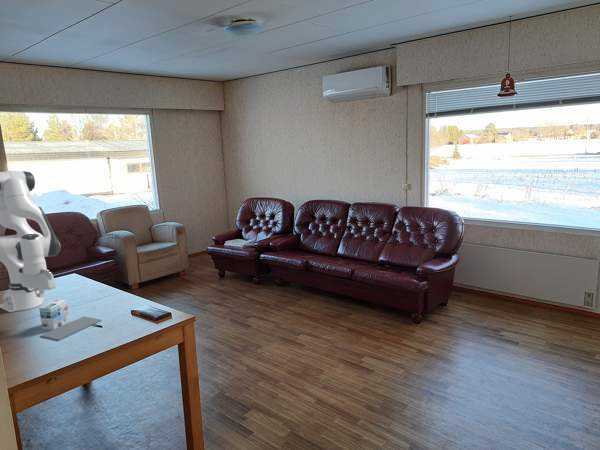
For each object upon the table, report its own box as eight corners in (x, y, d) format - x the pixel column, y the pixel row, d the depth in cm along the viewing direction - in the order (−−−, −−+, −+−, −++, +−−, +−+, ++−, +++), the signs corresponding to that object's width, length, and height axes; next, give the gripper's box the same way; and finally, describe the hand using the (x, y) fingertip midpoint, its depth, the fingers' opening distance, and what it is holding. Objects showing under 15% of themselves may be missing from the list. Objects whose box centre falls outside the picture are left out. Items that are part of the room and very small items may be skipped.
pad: (40, 336, 187) (40, 335, 186) (83, 317, 206) (83, 316, 206) (58, 340, 182) (58, 339, 182) (101, 320, 201) (101, 319, 201)
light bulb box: (54, 330, 192) (50, 308, 190) (41, 330, 194) (38, 307, 192) (71, 321, 203) (68, 299, 201) (59, 320, 204) (55, 299, 202)
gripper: (56, 268, 195) (61, 296, 198) (28, 265, 204) (33, 292, 206) (43, 272, 190) (48, 301, 192) (15, 269, 198) (20, 297, 200)
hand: (40, 296), depth 199 cm, fingers closed
